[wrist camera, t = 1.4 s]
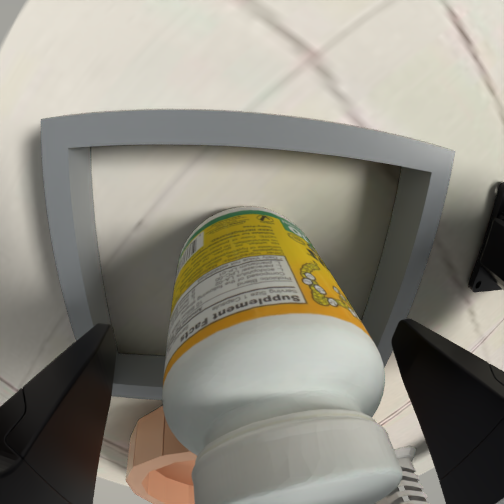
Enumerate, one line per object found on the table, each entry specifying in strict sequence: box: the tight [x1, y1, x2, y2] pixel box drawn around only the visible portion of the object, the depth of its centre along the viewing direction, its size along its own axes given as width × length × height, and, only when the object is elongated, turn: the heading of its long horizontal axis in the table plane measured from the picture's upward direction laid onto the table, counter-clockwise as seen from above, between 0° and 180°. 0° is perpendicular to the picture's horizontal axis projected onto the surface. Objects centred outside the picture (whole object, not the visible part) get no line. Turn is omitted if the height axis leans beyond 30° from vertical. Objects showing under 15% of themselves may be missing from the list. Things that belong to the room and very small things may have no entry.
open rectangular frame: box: [41, 109, 455, 400], centre depth 12 cm, size 14×12×2 cm
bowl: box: [126, 406, 197, 504], centre depth 18 cm, size 14×14×4 cm
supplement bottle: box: [162, 206, 402, 504], centre depth 8 cm, size 5×5×10 cm
